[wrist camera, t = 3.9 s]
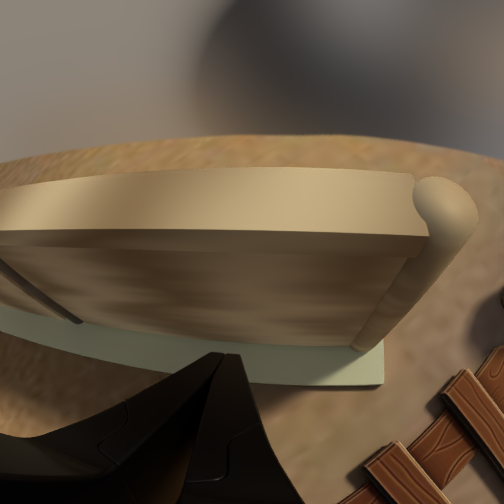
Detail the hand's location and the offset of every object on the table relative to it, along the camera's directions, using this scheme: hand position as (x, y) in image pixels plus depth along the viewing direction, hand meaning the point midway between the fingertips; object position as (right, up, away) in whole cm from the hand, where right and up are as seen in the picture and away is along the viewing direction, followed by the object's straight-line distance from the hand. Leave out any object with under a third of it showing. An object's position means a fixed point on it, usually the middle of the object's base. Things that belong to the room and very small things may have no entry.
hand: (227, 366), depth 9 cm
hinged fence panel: (-1, -1, +7) cm, 7 cm away
